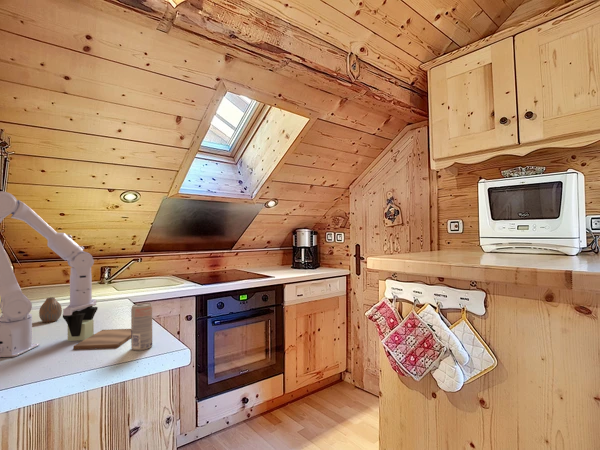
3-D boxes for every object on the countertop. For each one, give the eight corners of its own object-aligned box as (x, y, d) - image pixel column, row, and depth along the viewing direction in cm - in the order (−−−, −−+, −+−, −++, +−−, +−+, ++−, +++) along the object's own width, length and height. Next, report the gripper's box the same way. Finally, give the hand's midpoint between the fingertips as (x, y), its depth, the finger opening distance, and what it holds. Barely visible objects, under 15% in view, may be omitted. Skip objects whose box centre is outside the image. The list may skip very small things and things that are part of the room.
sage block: (84, 340, 103) (84, 323, 103) (67, 340, 102) (67, 324, 103) (93, 335, 108) (93, 319, 108) (77, 336, 107) (77, 320, 108)
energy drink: (146, 343, 99) (146, 302, 99) (156, 347, 95) (155, 304, 96) (128, 348, 95) (127, 305, 95) (136, 352, 91) (136, 307, 92)
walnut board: (117, 347, 95) (117, 344, 95) (73, 349, 94) (73, 345, 95) (140, 331, 111) (140, 328, 111) (102, 332, 110) (102, 329, 110)
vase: (65, 320, 128) (65, 297, 129) (44, 324, 123) (44, 300, 123) (56, 318, 132) (56, 295, 132) (35, 322, 126) (35, 298, 126)
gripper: (81, 293, 99) (81, 340, 98) (105, 285, 113) (105, 326, 113) (55, 294, 98) (55, 341, 98) (83, 286, 113) (83, 327, 112)
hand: (80, 333), depth 105 cm, fingers closed on sage block, 5 cm apart
